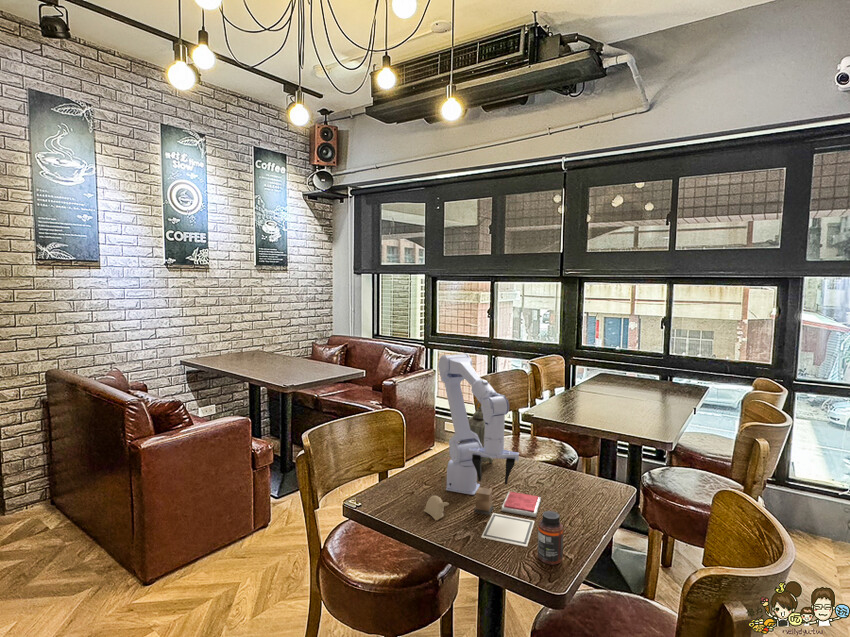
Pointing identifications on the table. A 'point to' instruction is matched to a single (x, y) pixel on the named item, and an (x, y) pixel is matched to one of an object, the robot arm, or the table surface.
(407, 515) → the table surface
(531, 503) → the ink pad
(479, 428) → the tabletop clock
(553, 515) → the supplement bottle
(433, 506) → the decorative ornament
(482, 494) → the stamp
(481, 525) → the table surface
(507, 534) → the paper card
